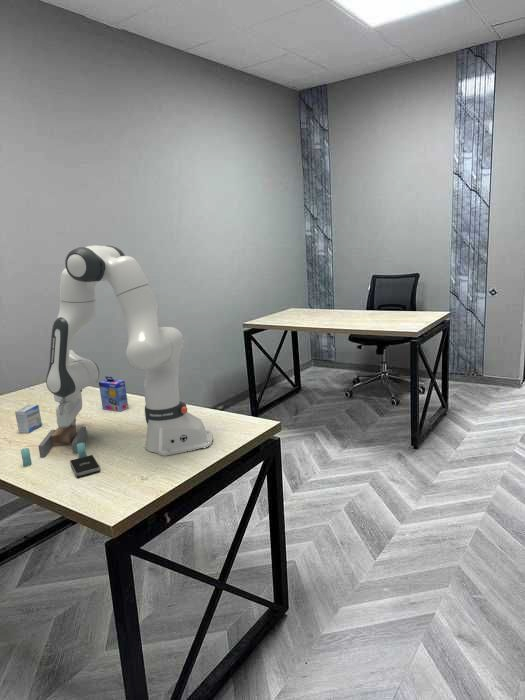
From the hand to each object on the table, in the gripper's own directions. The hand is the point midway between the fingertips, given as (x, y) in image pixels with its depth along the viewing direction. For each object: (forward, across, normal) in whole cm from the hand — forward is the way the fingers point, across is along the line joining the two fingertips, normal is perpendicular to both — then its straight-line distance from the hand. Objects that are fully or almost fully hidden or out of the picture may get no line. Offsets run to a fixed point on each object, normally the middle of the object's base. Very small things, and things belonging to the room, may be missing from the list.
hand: (72, 430), depth 175 cm
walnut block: (+2, -6, +1) cm, 6 cm away
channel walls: (+2, -11, 0) cm, 11 cm away
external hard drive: (+2, -30, -11) cm, 32 cm away
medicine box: (+2, +10, +18) cm, 21 cm away
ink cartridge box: (+2, +25, -11) cm, 27 cm away
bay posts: (+2, -22, 0) cm, 22 cm away
